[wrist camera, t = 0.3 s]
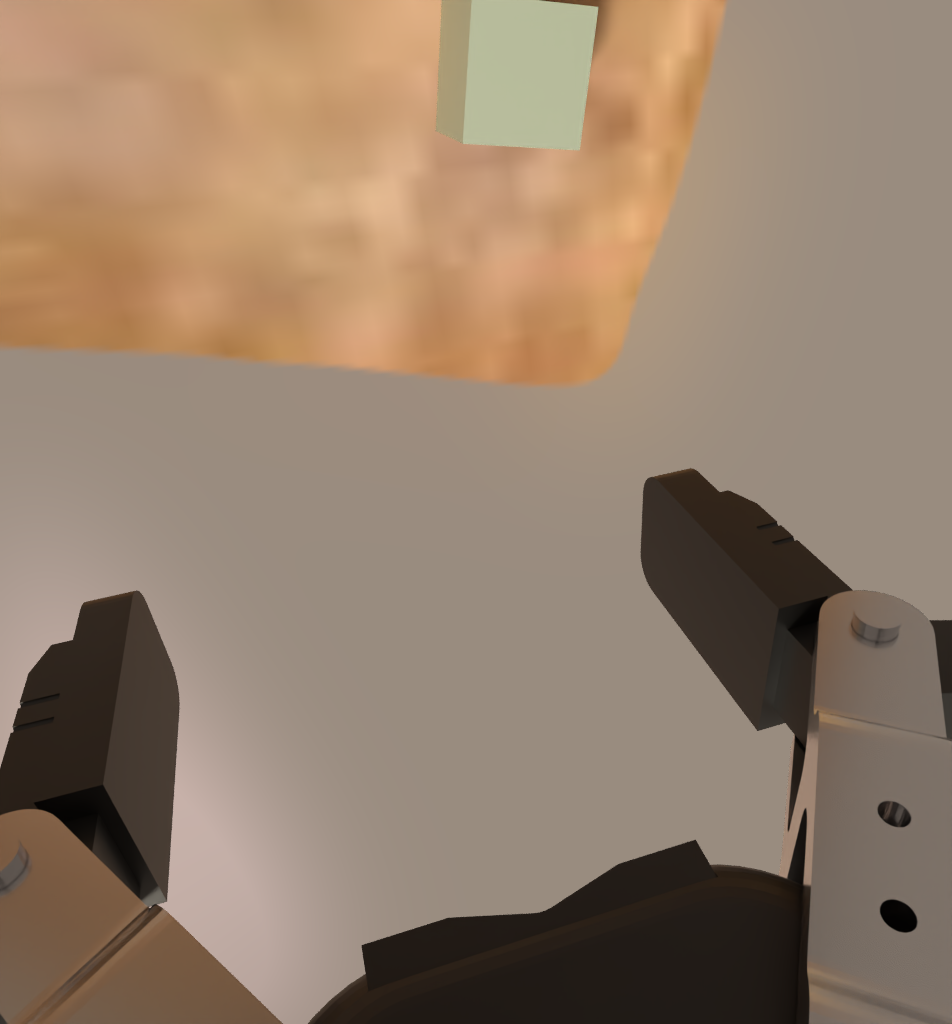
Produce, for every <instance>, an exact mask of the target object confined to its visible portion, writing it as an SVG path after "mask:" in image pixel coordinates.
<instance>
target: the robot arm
mask: <svg viewBox="0 0 952 1024" xmlns="http://www.w3.org/2000/svg"><path fill="white" fill-rule="evenodd" d="M641 562H642V567H643V571H644V575H645V577H646V580H647V582H648V584H649V586H650V588H651V589H652V591H653V592H654V594H655V595H656V596H657V598H658V599H659V600H660V602H661V603H662V604H663V606H664V607H665V608H666V609H667V611H668V612H669V614H670V615H671V616H672V618H673V619H674V620H675V622H676V623H677V624H678V626H679V627H680V628H681V629H682V631H683V632H684V634H685V635H686V636H687V638H688V639H689V640H690V642H691V643H692V644H693V646H694V647H695V648H696V650H697V651H698V652H699V654H700V655H701V656H702V657H703V659H704V660H705V661H706V663H707V664H708V665H709V667H710V668H711V670H712V671H713V672H714V674H715V675H716V676H717V677H718V679H719V680H720V682H721V683H722V684H723V685H724V687H725V688H726V690H727V691H728V692H729V693H730V695H731V696H732V698H733V699H734V700H735V702H736V703H737V704H738V706H739V707H740V708H741V709H742V711H743V712H744V714H745V715H746V716H747V717H748V719H749V720H750V721H751V723H752V724H753V725H754V726H755V728H756V729H757V731H759V730H762V729H766V728H769V727H773V726H776V725H780V724H783V723H786V724H787V725H788V727H789V728H790V729H791V730H792V732H793V733H794V736H793V741H792V746H791V752H790V764H789V776H788V789H787V800H786V812H785V824H784V835H783V847H782V857H781V863H780V870H779V875H775V874H771V873H768V872H765V871H762V870H757V869H752V868H746V867H741V866H731V865H710V864H709V862H708V860H707V859H706V857H705V855H704V854H703V852H702V850H701V849H700V847H699V845H698V843H697V841H696V840H694V841H690V842H687V843H684V844H681V845H678V846H675V847H671V848H668V849H665V850H662V851H658V852H656V853H652V854H649V855H646V856H643V857H639V858H637V859H633V860H630V861H627V862H624V863H621V864H618V865H616V866H615V867H613V868H612V869H610V870H609V871H607V872H606V873H604V874H602V875H601V876H599V877H598V878H596V879H595V880H593V881H592V882H590V883H589V884H587V885H585V886H584V887H582V888H581V889H579V890H578V891H576V892H575V893H573V894H572V895H570V896H569V897H567V898H565V899H564V900H562V901H561V902H559V903H558V904H556V905H555V906H553V907H552V908H550V909H548V910H546V911H543V912H540V913H531V914H512V915H494V916H475V917H456V918H446V919H443V920H440V921H437V922H434V923H431V924H427V925H424V926H421V927H418V928H415V929H412V930H409V931H405V932H402V933H399V934H396V935H393V936H390V937H386V938H383V939H380V940H377V941H374V942H371V943H367V944H364V945H362V952H363V959H364V965H365V972H366V974H365V975H363V976H362V977H360V978H359V979H357V980H356V981H354V982H353V983H351V984H349V985H348V986H347V987H346V988H345V989H343V990H342V991H341V992H340V993H338V994H337V995H336V996H335V997H334V998H332V999H331V1000H330V1001H329V1002H328V1003H327V1004H326V1005H325V1006H324V1007H323V1008H322V1009H321V1010H320V1011H319V1012H318V1013H317V1014H316V1015H315V1016H314V1017H313V1018H312V1019H311V1020H310V1022H309V1023H308V1024H952V620H942V621H939V620H935V621H934V620H932V621H931V620H928V619H927V617H926V616H925V615H924V614H923V613H922V612H921V611H919V610H918V609H917V608H915V607H914V606H913V605H911V604H909V603H907V602H905V601H903V600H901V599H899V598H897V597H894V596H891V595H887V594H885V593H880V592H874V591H866V590H855V591H853V590H852V589H851V588H850V587H849V586H847V585H846V584H845V583H844V582H843V581H842V580H841V579H840V578H839V577H838V576H836V575H835V574H834V573H833V572H832V571H831V570H830V569H829V568H828V567H827V566H825V565H824V564H823V563H822V562H821V561H820V560H819V559H818V558H817V557H816V556H814V555H813V554H812V553H811V552H810V551H809V550H808V549H807V548H806V547H804V546H803V545H802V544H801V543H800V542H799V541H798V540H796V541H794V538H793V536H792V535H791V534H790V533H789V532H788V531H787V530H785V529H784V527H782V526H781V525H780V526H778V524H777V521H776V520H775V519H774V518H773V517H771V516H770V515H769V514H768V513H767V512H766V511H765V510H764V509H762V508H761V507H760V506H759V505H758V504H757V503H755V502H753V501H750V500H748V499H746V498H744V497H742V496H739V495H737V494H735V493H733V492H731V491H724V492H719V491H718V490H717V489H716V488H715V487H714V486H712V485H711V484H710V483H709V482H708V481H707V480H706V479H705V478H704V477H703V476H702V475H701V474H700V473H699V472H698V471H696V470H695V469H691V468H690V469H686V470H681V471H677V472H673V473H668V474H663V475H659V476H655V477H650V478H648V479H647V480H646V482H645V484H644V490H643V511H642V535H641ZM20 705H21V708H19V709H18V711H17V714H16V717H15V721H14V724H13V730H14V732H13V733H11V734H10V737H9V741H8V744H7V747H6V751H5V754H4V757H3V761H2V764H1V768H0V1024H283V1023H282V1022H281V1021H280V1020H278V1019H277V1018H276V1017H275V1016H274V1015H273V1014H272V1013H271V1012H270V1011H269V1010H268V1009H267V1008H266V1007H265V1006H264V1005H263V1004H262V1003H261V1002H260V1001H259V1000H258V999H257V998H256V997H255V996H254V995H252V993H251V992H250V991H249V990H248V989H247V988H245V987H244V986H243V985H242V984H241V983H240V982H239V981H238V980H237V979H236V978H235V977H234V976H233V975H232V974H231V973H230V972H229V971H228V970H227V969H226V968H225V967H224V966H223V965H222V964H221V963H220V962H219V961H218V960H216V958H215V957H213V956H212V955H211V954H210V953H209V952H208V951H207V950H206V949H205V948H204V947H203V946H202V945H201V944H200V943H199V942H198V941H197V940H196V939H195V938H194V937H193V936H192V935H191V934H190V933H189V932H188V931H187V930H186V929H185V928H184V927H183V926H182V925H180V924H179V923H178V922H177V921H176V920H175V919H174V918H173V917H172V916H171V915H170V914H169V913H168V912H167V911H165V910H164V909H163V908H162V907H160V906H158V905H157V904H160V903H164V902H167V893H168V877H169V862H170V845H171V830H172V815H173V799H174V784H175V767H176V752H177V737H178V722H179V692H178V685H177V680H176V676H175V672H174V669H173V666H172V663H171V661H170V658H169V656H168V654H167V651H166V649H165V646H164V644H163V641H162V639H161V637H160V634H159V632H158V629H157V627H156V625H155V622H154V620H153V618H152V615H151V613H150V610H149V608H148V605H147V603H146V601H145V599H144V597H143V595H142V594H141V593H140V592H139V591H133V592H128V593H124V594H119V595H115V596H110V597H106V598H101V599H97V600H93V601H88V602H84V603H83V605H82V607H81V609H80V613H79V618H78V622H77V626H76V630H75V634H74V638H73V640H71V641H67V642H62V643H58V644H54V645H51V646H50V648H49V649H48V650H47V651H46V653H45V654H44V655H43V656H42V657H41V659H40V660H39V661H38V663H37V664H36V665H35V666H34V667H33V669H32V670H31V671H30V672H29V674H28V677H27V681H26V684H25V687H24V690H23V694H22V697H21V700H20ZM150 906H152V907H151V908H149V907H150Z"/></svg>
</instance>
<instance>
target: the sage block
mask: <svg viewBox="0 0 952 1024" xmlns="http://www.w3.org/2000/svg"><path fill="white" fill-rule="evenodd" d="M597 15H598V7H595V6H586V5H577V4H568V3H559V2H550V1H541V0H442V5H441V27H440V48H439V70H438V92H437V114H436V131H437V132H439V133H441V134H444V135H446V136H448V137H450V138H452V139H454V140H456V141H458V142H460V143H463V144H478V145H495V146H512V147H530V148H547V149H564V150H580V144H581V136H582V128H583V121H584V113H585V106H586V98H587V90H588V83H589V75H590V68H591V60H592V52H593V45H594V37H595V30H596V22H597Z"/></svg>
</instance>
